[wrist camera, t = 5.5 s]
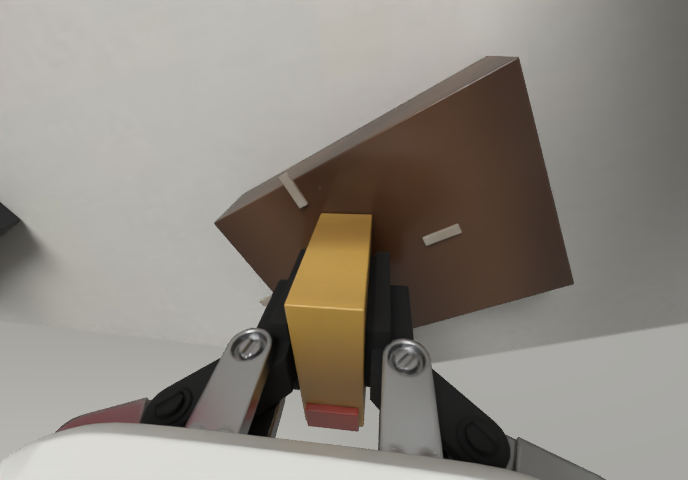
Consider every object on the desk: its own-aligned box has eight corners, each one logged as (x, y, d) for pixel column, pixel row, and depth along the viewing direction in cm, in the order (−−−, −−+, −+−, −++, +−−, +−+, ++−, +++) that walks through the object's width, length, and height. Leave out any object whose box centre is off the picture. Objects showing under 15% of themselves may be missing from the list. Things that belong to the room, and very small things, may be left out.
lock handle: (320, 212, 11) (280, 311, 7) (372, 214, 11) (363, 317, 7) (328, 313, 14) (304, 428, 10) (370, 316, 14) (363, 435, 10)
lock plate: (485, 44, 11) (518, 42, 8) (543, 249, 15) (578, 293, 12) (225, 195, 15) (191, 226, 12) (324, 319, 19) (314, 363, 16)
